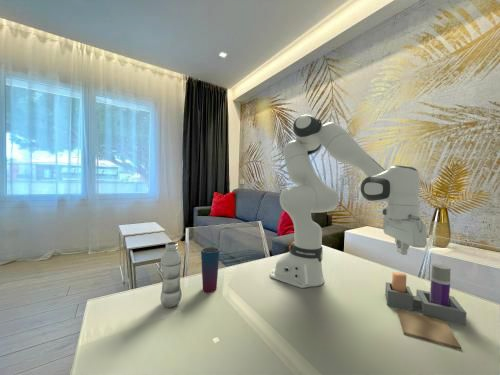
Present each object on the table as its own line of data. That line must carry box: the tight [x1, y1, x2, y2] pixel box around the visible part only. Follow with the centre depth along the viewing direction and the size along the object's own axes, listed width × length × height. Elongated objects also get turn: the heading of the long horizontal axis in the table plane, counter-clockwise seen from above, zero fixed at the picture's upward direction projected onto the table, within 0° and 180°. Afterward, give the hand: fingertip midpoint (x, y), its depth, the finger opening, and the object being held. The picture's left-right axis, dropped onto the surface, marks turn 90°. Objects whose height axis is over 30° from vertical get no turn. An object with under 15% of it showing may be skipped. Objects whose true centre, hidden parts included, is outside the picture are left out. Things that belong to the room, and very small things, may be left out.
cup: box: [200, 246, 221, 294], centre depth 82 cm, size 7×7×15 cm
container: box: [429, 263, 451, 307], centre depth 71 cm, size 5×5×15 cm
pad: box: [396, 308, 462, 351], centre depth 63 cm, size 12×12×1 cm
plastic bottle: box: [160, 241, 183, 308], centre depth 72 cm, size 6×7×20 cm
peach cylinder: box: [391, 271, 408, 293], centre depth 76 cm, size 4×4×8 cm
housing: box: [384, 281, 467, 327], centre depth 74 cm, size 20×10×5 cm, turn 64°
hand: (401, 253), depth 75 cm, fingers closed
